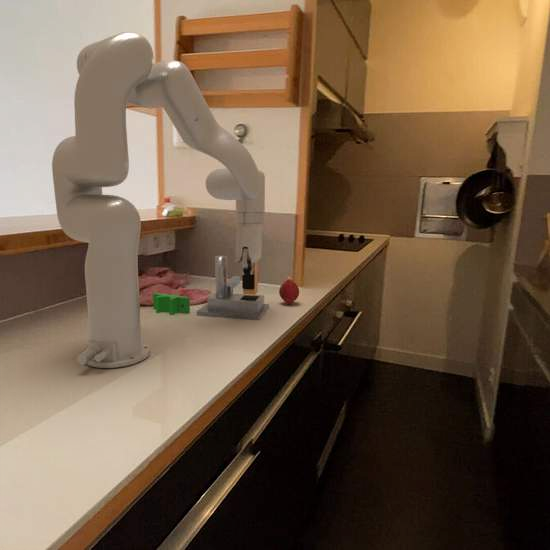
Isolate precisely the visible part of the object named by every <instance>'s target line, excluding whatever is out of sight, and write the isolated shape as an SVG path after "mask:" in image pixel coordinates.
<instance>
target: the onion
mask: <svg viewBox="0 0 550 550" xmlns="http://www.w3.org/2000/svg"><path fill="white" fill-rule="evenodd" d="M278 294H279V297H280V298H281V299H282V301H284V302H285V304H286V305H291V304H293V302H295V301H296V300H297V299H298V297H299V295H300V288H299V286H298V285H297V284H296V282H295V281H294V280H292V279H291V277H289V276H288V277H287V279H286V280H285V281H284V282H282V284H281V285H280V287H279V290H278Z"/></svg>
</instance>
